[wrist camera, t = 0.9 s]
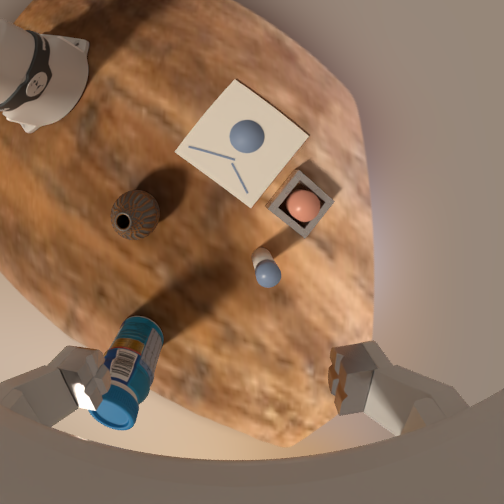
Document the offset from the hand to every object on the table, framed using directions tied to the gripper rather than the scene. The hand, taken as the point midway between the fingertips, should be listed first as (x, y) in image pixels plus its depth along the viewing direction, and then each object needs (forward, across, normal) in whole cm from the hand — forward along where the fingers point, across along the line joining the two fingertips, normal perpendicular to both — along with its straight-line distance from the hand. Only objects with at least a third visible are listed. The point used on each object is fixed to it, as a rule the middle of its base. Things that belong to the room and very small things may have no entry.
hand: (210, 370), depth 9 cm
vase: (+33, +15, -3) cm, 36 cm away
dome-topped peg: (+34, -3, +5) cm, 35 cm away
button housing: (+34, -8, -3) cm, 36 cm away
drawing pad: (+33, -1, -12) cm, 35 cm away
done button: (+33, -9, -3) cm, 34 cm away
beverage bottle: (+34, +19, +18) cm, 43 cm away
